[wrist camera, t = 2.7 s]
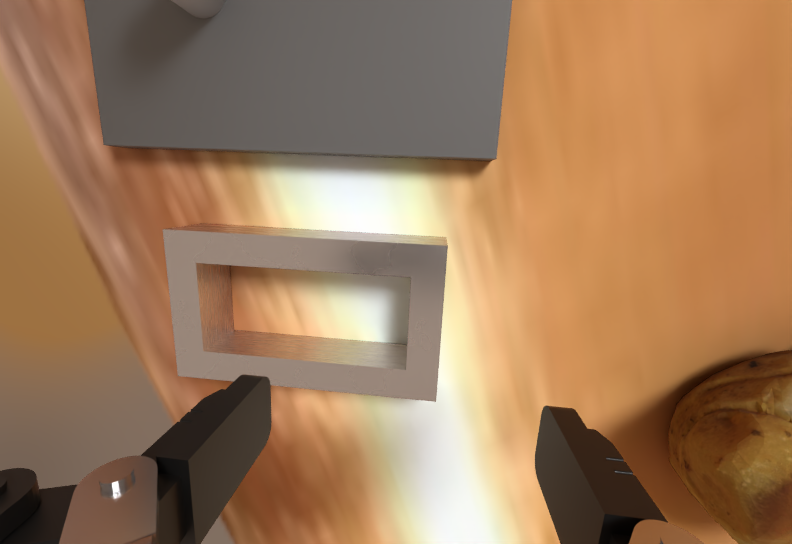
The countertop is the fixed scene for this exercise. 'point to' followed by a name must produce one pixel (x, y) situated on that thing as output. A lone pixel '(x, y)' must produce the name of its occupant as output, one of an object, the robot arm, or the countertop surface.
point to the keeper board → (302, 75)
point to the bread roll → (740, 448)
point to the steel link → (291, 354)
